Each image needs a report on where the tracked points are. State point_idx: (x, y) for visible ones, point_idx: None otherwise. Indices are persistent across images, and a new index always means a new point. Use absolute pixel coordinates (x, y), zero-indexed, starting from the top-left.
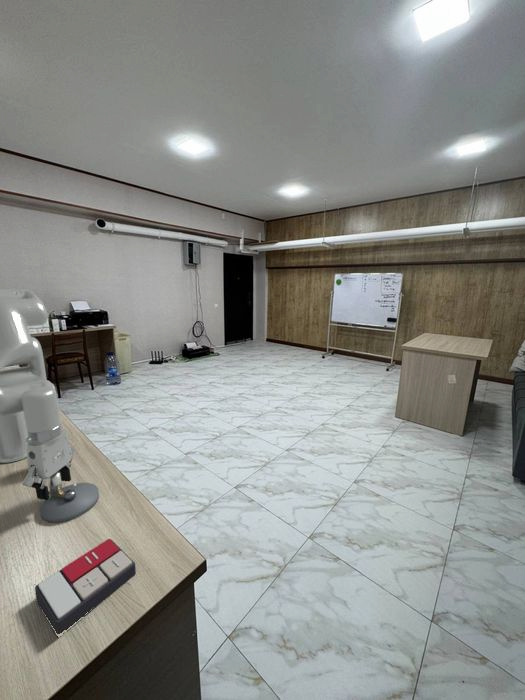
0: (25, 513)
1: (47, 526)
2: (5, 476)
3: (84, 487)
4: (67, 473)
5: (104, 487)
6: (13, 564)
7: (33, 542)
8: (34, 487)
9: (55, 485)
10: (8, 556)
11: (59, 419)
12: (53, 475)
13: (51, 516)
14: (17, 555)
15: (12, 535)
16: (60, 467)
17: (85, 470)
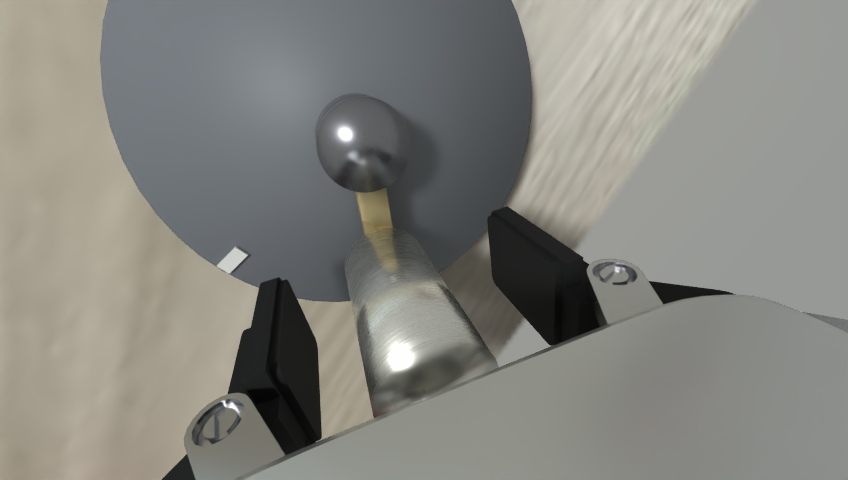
0: (490, 279)
1: (534, 81)
2: None
3: (201, 157)
4: (282, 337)
5: (34, 15)
6: (729, 2)
7: (627, 42)
8: (711, 290)
9: (432, 273)
10: (690, 79)
11: None
12: (469, 360)
13: (519, 96)
14: (689, 40)
15: (597, 191)
16: (492, 402)
17: (59, 379)
